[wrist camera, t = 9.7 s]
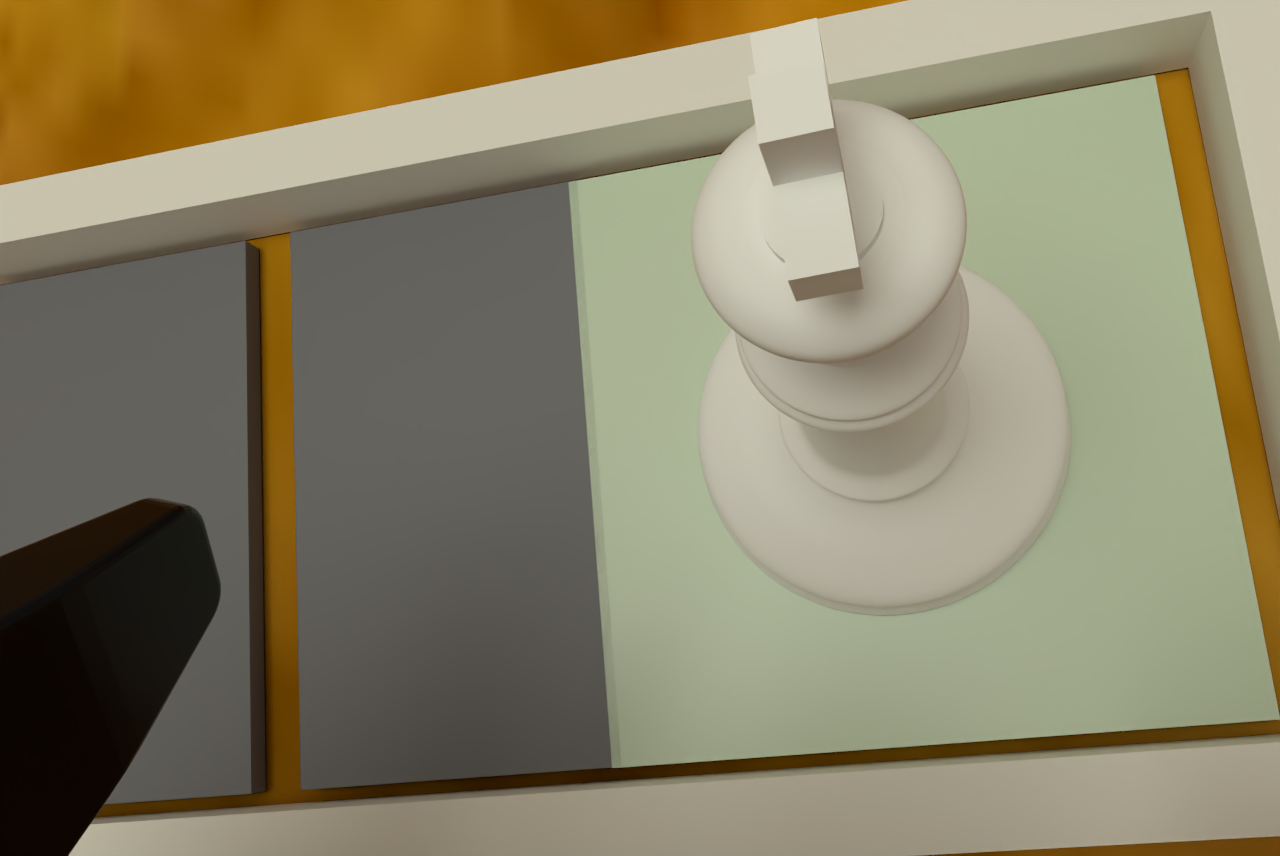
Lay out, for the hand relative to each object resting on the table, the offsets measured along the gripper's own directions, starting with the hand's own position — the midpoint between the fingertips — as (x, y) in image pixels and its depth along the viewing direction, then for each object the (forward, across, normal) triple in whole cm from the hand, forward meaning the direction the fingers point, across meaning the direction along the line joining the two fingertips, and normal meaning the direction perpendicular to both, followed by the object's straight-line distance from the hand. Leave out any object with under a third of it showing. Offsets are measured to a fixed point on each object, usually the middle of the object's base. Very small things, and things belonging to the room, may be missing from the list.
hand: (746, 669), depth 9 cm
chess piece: (+8, 0, +3) cm, 9 cm away
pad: (+8, 0, +3) cm, 9 cm away
